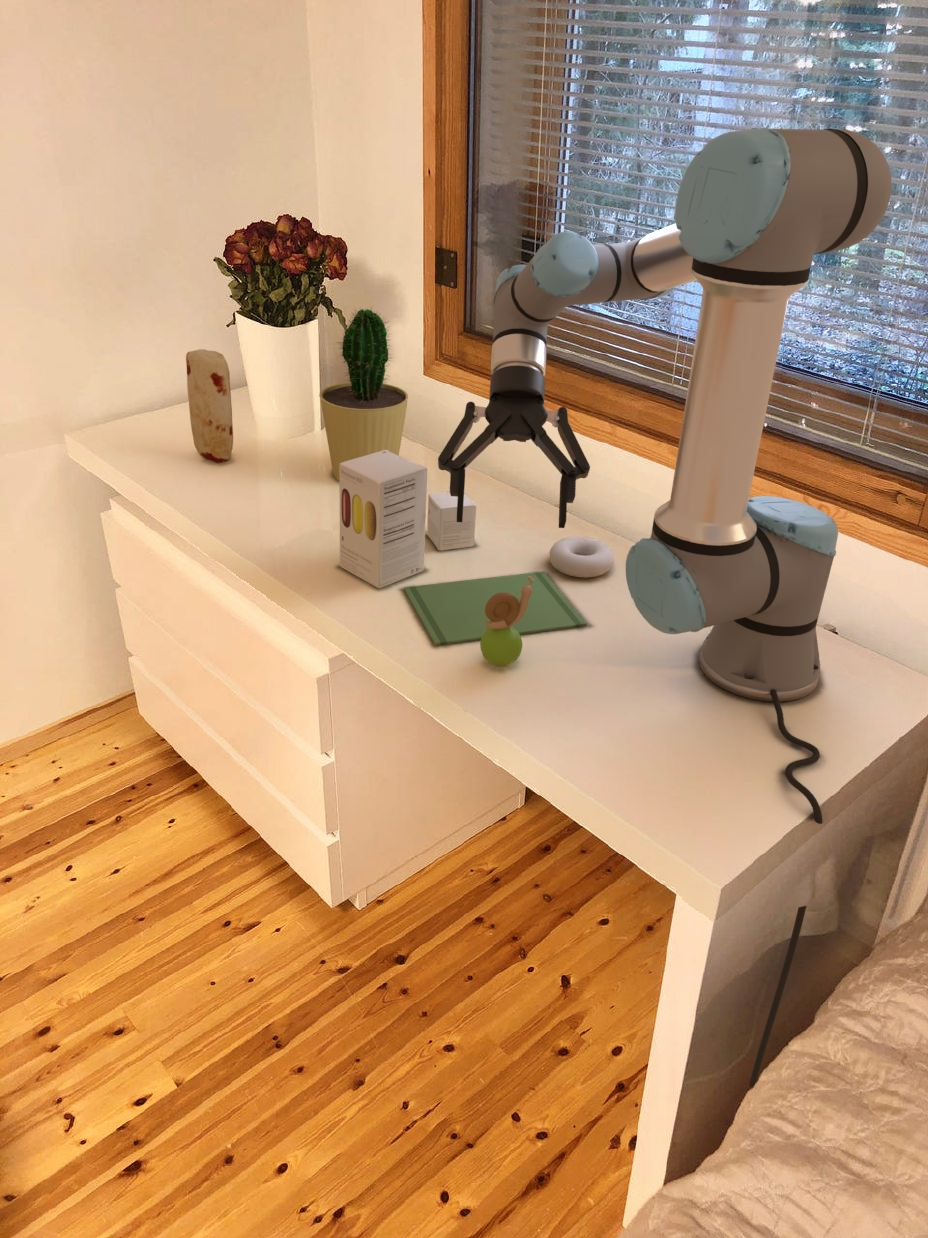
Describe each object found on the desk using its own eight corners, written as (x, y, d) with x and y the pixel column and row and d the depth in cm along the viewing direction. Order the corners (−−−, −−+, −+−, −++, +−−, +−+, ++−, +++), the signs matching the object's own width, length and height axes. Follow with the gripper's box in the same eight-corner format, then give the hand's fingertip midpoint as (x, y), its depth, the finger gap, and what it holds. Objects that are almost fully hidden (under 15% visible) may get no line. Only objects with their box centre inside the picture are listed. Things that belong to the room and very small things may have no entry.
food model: (184, 455, 193) (173, 348, 183) (212, 446, 197) (204, 341, 187) (218, 470, 188) (209, 360, 177) (247, 460, 192) (240, 352, 182)
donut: (544, 577, 157) (610, 585, 156) (545, 557, 156) (612, 564, 154) (552, 549, 166) (615, 556, 164) (554, 529, 164) (617, 536, 163)
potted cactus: (328, 455, 196) (324, 292, 181) (410, 460, 196) (413, 297, 181) (314, 488, 182) (309, 314, 167) (402, 493, 182) (405, 320, 167)
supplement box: (337, 567, 157) (336, 461, 149) (383, 549, 163) (384, 447, 154) (379, 590, 151) (380, 482, 143) (426, 571, 157) (429, 466, 149)
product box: (426, 535, 168) (427, 493, 164) (461, 530, 170) (463, 489, 166) (438, 551, 163) (440, 508, 159) (474, 546, 165) (477, 504, 161)
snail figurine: (534, 668, 135) (542, 587, 129) (488, 676, 133) (494, 594, 127) (517, 647, 139) (524, 567, 133) (472, 655, 137) (477, 574, 131)
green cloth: (586, 625, 145) (586, 623, 145) (435, 645, 139) (435, 643, 139) (543, 573, 158) (543, 571, 158) (403, 589, 152) (403, 587, 152)
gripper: (604, 393, 147) (601, 536, 141) (428, 383, 147) (417, 525, 141) (612, 367, 139) (609, 516, 134) (426, 357, 140) (415, 506, 134)
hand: (510, 521), depth 138 cm, fingers open, 13 cm apart
